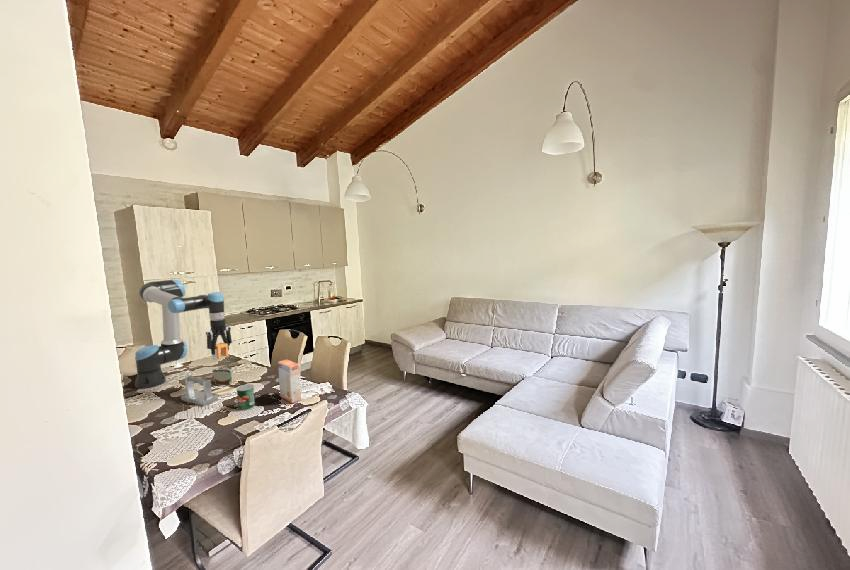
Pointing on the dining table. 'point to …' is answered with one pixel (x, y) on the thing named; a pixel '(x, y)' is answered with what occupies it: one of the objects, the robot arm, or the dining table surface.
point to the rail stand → (198, 392)
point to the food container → (223, 375)
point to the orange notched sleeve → (222, 350)
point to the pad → (223, 391)
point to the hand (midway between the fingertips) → (220, 357)
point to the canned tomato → (245, 397)
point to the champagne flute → (177, 365)
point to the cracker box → (289, 381)
